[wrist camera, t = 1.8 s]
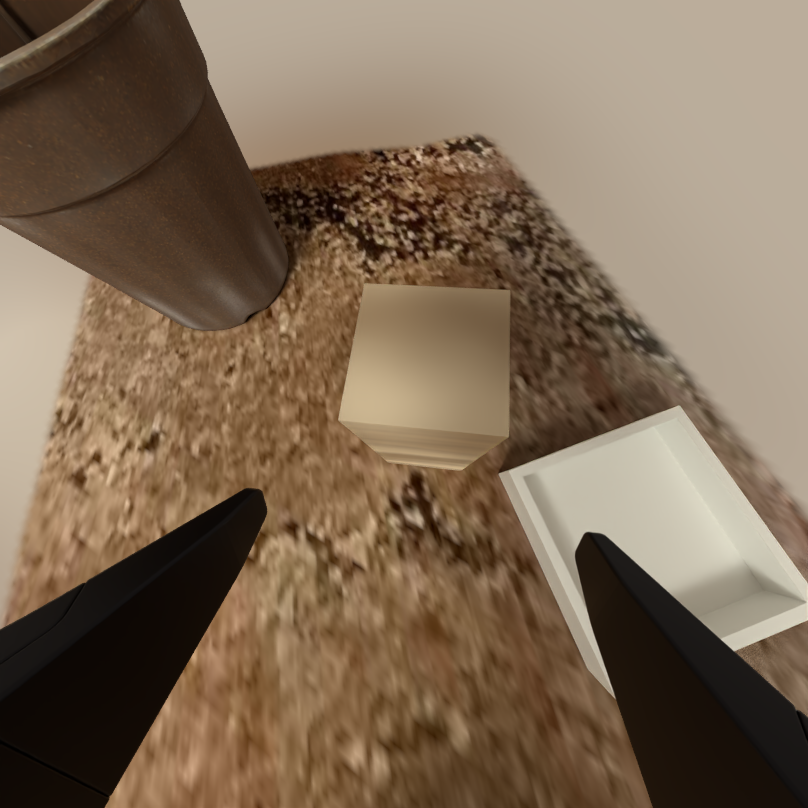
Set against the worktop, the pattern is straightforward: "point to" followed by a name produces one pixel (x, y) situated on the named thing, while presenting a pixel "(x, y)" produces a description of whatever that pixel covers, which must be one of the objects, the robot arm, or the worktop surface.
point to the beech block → (429, 374)
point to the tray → (658, 530)
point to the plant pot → (131, 159)
